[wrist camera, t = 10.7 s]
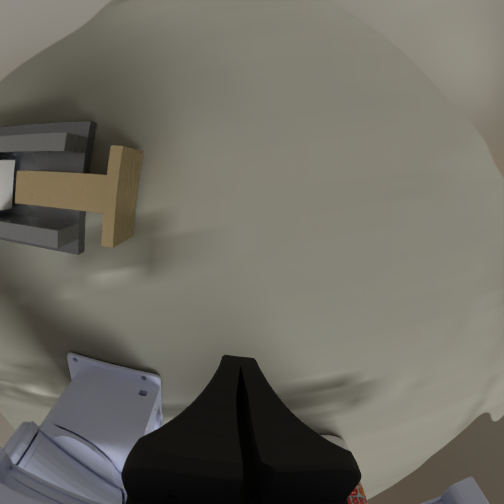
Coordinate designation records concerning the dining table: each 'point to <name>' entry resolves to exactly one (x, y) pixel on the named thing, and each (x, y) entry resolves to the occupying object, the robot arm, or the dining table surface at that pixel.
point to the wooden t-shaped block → (90, 192)
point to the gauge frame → (47, 159)
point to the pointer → (6, 183)
